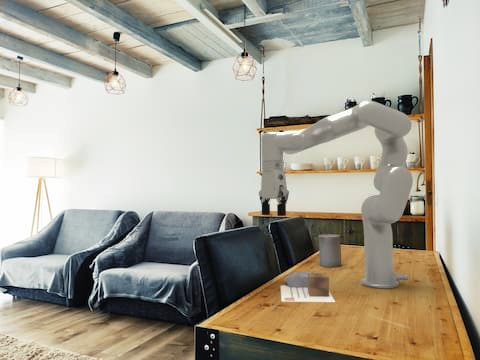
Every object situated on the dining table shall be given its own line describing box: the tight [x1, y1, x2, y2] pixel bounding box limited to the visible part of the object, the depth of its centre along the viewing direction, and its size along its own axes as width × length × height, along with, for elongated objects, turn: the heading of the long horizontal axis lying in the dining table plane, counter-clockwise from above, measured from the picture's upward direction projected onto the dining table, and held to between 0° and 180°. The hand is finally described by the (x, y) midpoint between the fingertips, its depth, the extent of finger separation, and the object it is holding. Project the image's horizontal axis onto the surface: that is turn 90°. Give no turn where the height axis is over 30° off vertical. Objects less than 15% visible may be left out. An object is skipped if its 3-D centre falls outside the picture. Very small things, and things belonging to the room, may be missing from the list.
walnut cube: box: [308, 272, 330, 297], centre depth 120 cm, size 6×6×6 cm
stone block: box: [285, 270, 315, 287], centre depth 135 cm, size 12×5×10 cm
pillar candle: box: [318, 232, 342, 268], centre depth 169 cm, size 10×10×15 cm
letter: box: [280, 284, 336, 303], centre depth 122 cm, size 16×20×1 cm
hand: (273, 215), depth 131 cm, fingers open, 9 cm apart
